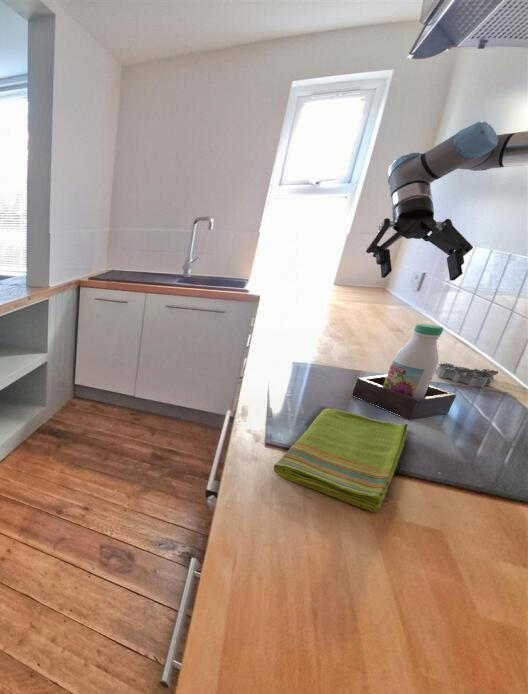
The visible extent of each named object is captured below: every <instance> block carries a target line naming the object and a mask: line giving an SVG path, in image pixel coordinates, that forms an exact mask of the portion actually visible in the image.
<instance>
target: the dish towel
mask: <svg viewBox="0 0 528 694" xmlns="http://www.w3.org/2000/svg"><path fill="white" fill-rule="evenodd" d="M408 426H409V423H395V422H389V421H385V420H380V419H374V418H370V417H367V416H364V415H360V414H356V413H352V412H350V411H349V412H348V411H344V410H342V409H341V410H340V409H335V408H329V407H327V408H324V409H323V410H321V412H320V413H319V414H318V415H317V416H316V418H315V419H314V420H313V422H311V424H310V425H309V427H308V428H307V429H306V430H305V432H303V434H302V435H301V436H300V438H298V439H297V440H296V441H295V442H294V444H293V445H292V446H290V448H289V449H288V450H287V451H286V452H285V453H284V454H283V455H282V456H281V458H279V460H277V462H275V463H273V472H274V473H275V474H277V475H278V476H280V477H282V478H284V479H286V480H288V481H290V482H292V483H295V484H299V485H302V486H303V487H306V488H309V489H311V490H314V491H317V492H318V493H322V494H324V495H327V496H329V497H332V498H334V499H337V500H339V501H342V502H345V503H348V504H350V505H352V506H356V507H358V508H361V509H364V510H366V511H368V512H371V513H379V511H380V509H381V508H382V505H383V503H384V501H385V498H386V495H387V493H388V489H389V487H390V484H391V481H392V478H393V477H394V474H395V471H396V469H397V466H398V464H399V460H400V457H401V455H402V452H403V450H404V446H405V442H406V439H407V435H408V433H409V430H408Z"/></svg>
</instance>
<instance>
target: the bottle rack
mask: <svg viewBox="0 0 528 694" xmlns="http://www.w3.org/2000/svg"><path fill="white" fill-rule="evenodd" d="M386 377H387V374H379V375H373V376H366V377H364V376H363V377H358V378H356V379H357V380H356V382H355V385H354V388H353V389H352V393H351V396H352V395H353V396H355V397H357V398H360V399H362V400H364V401H366V402H365V403H367V402H368V403H367V404H369V403H371V404H374V405H377V406H379V407H381V408H384V409H386V410H388V411H391V412H393V413H395V414H398V415H400V416H402V417H404V418H403V419H405V418H406V419H405V420H407V419H408V420H407V421H411V419H412V420H418V419H423V418H429V417H436V416H441V415H448V414H449V413H450V410H451V408H452V406H453V403H454V402H455V399H456V397H457V394H456V393H453V392H451V391H448V390H446V389H442V388H439V387H437V386H436V387H435V386H433V385H431V384H429V387H428V389H427V391H426V394H425V396H424V397H421V398H413V397H411V396H408V395H405V394H403V393H400V392H397V391H395V390H392V389H389V388H387V387H384V386H383V384H384V382H385V379H386ZM355 397H354V398H355ZM357 398H356V399H357ZM360 399H359V400H360ZM362 400H361V401H362ZM364 401H363V402H364ZM371 404H370V405H371ZM374 405H373V406H374ZM379 407H378V408H379ZM381 408H380V409H381ZM386 410H385V411H386ZM388 411H387V412H388ZM393 413H392V414H393ZM395 414H394V415H395ZM398 415H397V416H398ZM400 416H399V417H400ZM402 417H401V418H402Z"/></svg>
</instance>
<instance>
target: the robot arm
mask: <svg viewBox="0 0 528 694" xmlns="http://www.w3.org/2000/svg"><path fill="white" fill-rule="evenodd" d="M520 166H528V130H525V131H519V132H509V133H503V134H497V132H496V130H495V129H494V127H493V126H492V125H491V124H489V123H488V122H486V121H485V120H484V121H483V120H481V121H480V120H479V121H477V122H475V123H473V124H471V125H469V126H467V127H464V128H463V129H461V130H459V131H458V132H457V133H455V134H454V135H452V136H450V137H449V138H447V139H444V141H442V142H440V143H439V144H437V145H435V146H433V147H432V148H431V149H428V151H425V152H424V153H421V152H410V153H409V154H406V155H404V154H403V155H402V156H400V157H398V158H396V159H395V160H394V161H393V162H392V163H391V164H390V166H389V168H388V178H387V182H388V186H389V194H390V202H391V203H390V204H391V212H392V214H391V215H392V220H391V218H388V217H386V218H384V219H383V220H382V222H381V223H380V224H379V225H378V232H377V233H376V234H375V236H374V238H373V239H372V240H371V242H370V243H369V245H368V246H367V248H366V250H365V252H366V253H367V254H371V253H373V254H372V257H373V258H375V263H376V265H379V266H380V276H381V278H382V279H385V278H387V277H388V276H389V274H391V272H392V271H393V270H392V260H391V250H390V247H391V246H392V245H394V244H395V243H396V242H397V241H399V240H401V238H405V239H407V240H410V239H415V240H421V239H422V240H423V241H425V242H429V243H431V244H432V245H434V247H436V248H438V249H439V250H441V251H442V252H443V253H445V254H446V255H448V256H447V257H446V262H447V263H446V264H447V269H448V276H449V281H456V280H457V279H458V278H459V277H461V276H462V275H463V267H462V266H463V265H464V264H465V257H464V256H466V255H467V254H468V253H470V252H471V251H472V250H473V249H474V246H473V245H472V244H471V243H470V242H469V241H468V240H467V239H466V238H465V237H464V236H463V234H462V233H461V232H460V231H459V230H458V229H457V228H456V227H455V226H454V225H453V222H452V220H451V219H450V218H445V219H444V220H443V221H436V220H435V219H434V218H435V217H434V216H435V209H434V202H433V194H432V188H431V184H432V183H434V182H436V181H437V180H440V179H441V178H442V177H445V176H447V175H448V174H450V173H451V172H454V171H456V170H457V169H458V170H469V171H474V172H477V171H479V172H480V171H482V172H483V171H487V170H491V169H501V168H509V167H520ZM391 228H392V229H393V230H394V231H395V233H394V234H393V235H391V236H389V238H388V239H387V240H385V241H384V242H383V243H382V244H380V245H378V244H379V243H380V241H381V240H382V238H383V237H384V235H385V234H386V232H387V231H388V230H390V229H391ZM429 233H430V234H429Z"/></svg>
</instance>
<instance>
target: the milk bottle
mask: <svg viewBox="0 0 528 694" xmlns="http://www.w3.org/2000/svg"><path fill="white" fill-rule="evenodd" d="M443 331H444V327H443V326H441V325H437V324H432V323H416V324H415V326H414V330H413V332H412V334H413V335H412V337H411V338H410V339H409V340H408V342H407V343H406V344H405V345H403V347H401V348H400V349H399V350H398V351H397V353H396V354H395V356H394V357H393V360H392V362H391V364H390V367H389V370H388V372H387V374H386V375H387V377H386V379H385V382H384V384H383V386H384V387H387V388H389V389H392V390H395V391H397V392H400V393H403V394H405V395H408V396H411V397H413V398H421V397H424V396H425V394H426V391H427V389H428V387H429V385H431V382H432V379H433V377H434V375H435V374H436V371H437V368H438V365H439V352H438V339H439V338H440V337H441V335H442V333H443Z"/></svg>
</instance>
